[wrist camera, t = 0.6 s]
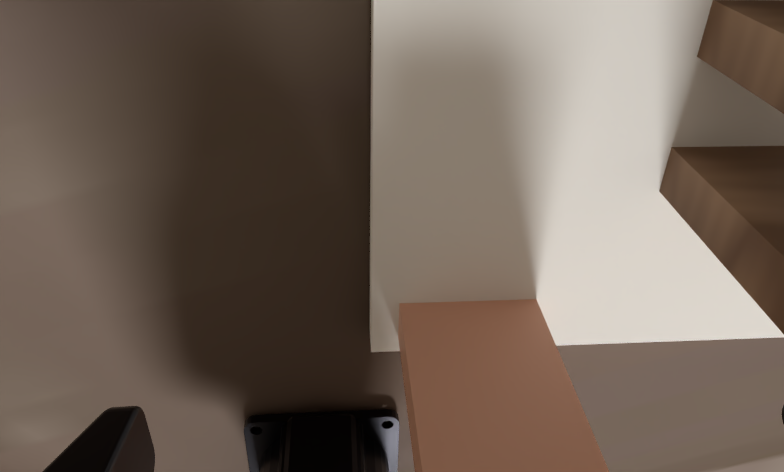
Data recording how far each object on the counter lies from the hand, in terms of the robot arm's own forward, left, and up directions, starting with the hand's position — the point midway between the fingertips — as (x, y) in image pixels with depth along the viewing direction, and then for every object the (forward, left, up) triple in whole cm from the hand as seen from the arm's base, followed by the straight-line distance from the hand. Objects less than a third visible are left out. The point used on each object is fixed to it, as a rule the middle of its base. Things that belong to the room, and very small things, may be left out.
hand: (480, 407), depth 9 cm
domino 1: (-9, -3, -12) cm, 15 cm away
